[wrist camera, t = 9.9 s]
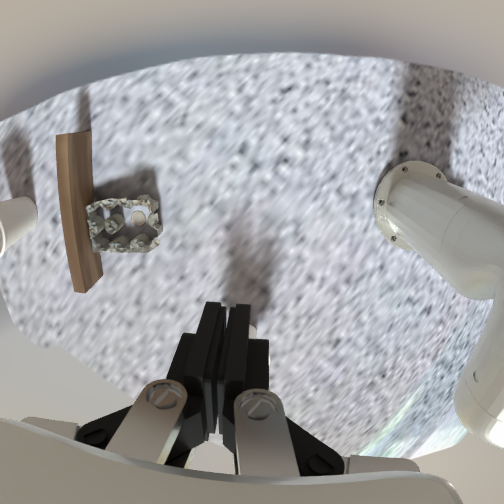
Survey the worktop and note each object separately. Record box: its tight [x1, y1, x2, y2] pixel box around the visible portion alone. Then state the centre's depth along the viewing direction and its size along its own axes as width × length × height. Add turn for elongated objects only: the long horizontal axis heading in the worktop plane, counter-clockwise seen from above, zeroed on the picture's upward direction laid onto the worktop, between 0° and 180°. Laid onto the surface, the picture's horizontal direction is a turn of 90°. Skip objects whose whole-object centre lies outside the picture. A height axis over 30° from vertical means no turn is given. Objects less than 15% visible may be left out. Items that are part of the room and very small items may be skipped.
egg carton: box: [86, 194, 163, 253], centre depth 39 cm, size 11×8×4 cm
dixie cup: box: [0, 196, 38, 257], centre depth 36 cm, size 8×8×10 cm
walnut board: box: [56, 131, 103, 293], centre depth 37 cm, size 2×22×6 cm, turn 177°
